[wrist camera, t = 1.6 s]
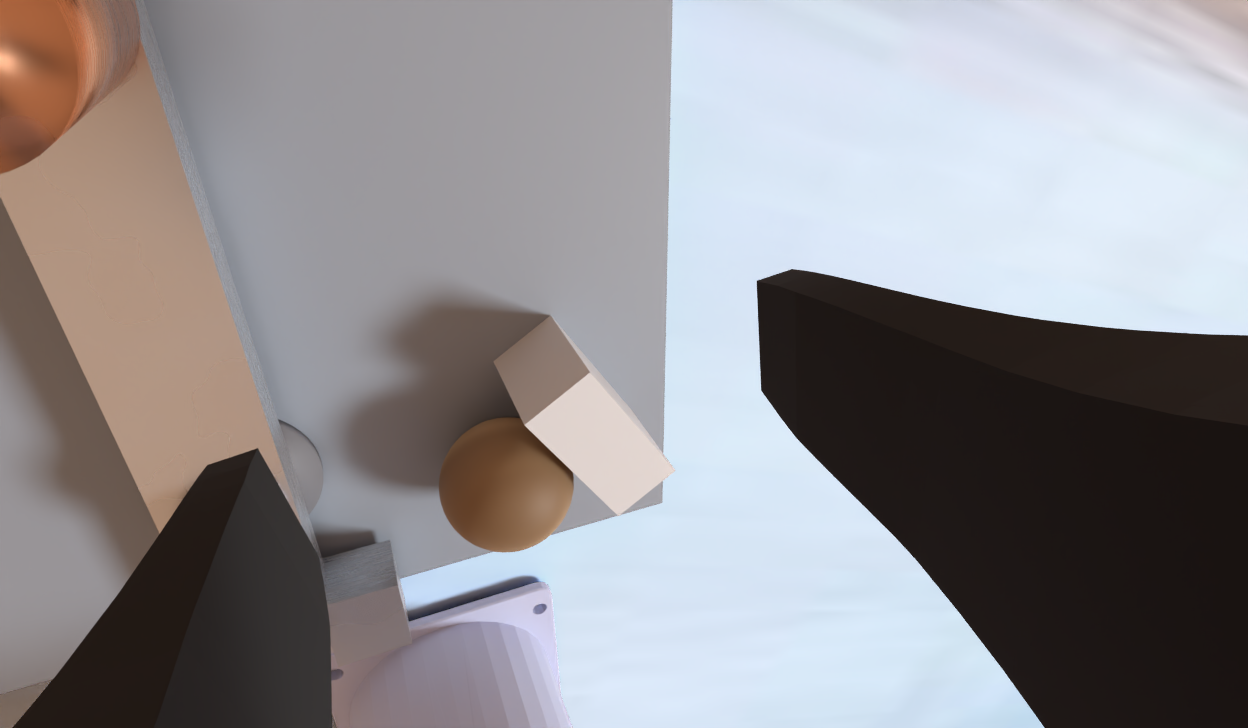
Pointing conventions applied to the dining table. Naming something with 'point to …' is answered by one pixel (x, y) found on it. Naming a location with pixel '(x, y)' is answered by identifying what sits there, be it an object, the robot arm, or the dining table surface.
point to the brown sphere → (504, 486)
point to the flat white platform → (377, 278)
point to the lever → (150, 276)
